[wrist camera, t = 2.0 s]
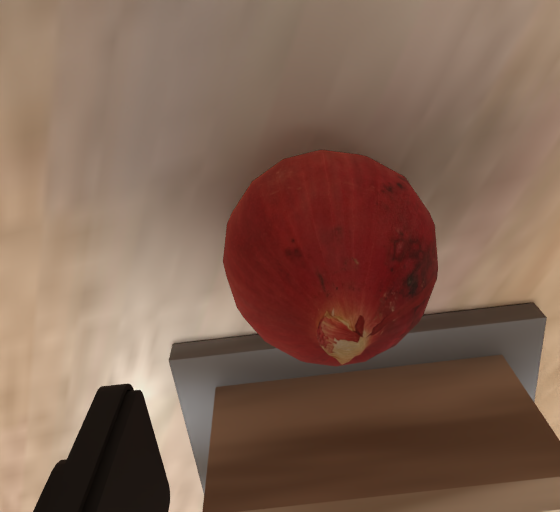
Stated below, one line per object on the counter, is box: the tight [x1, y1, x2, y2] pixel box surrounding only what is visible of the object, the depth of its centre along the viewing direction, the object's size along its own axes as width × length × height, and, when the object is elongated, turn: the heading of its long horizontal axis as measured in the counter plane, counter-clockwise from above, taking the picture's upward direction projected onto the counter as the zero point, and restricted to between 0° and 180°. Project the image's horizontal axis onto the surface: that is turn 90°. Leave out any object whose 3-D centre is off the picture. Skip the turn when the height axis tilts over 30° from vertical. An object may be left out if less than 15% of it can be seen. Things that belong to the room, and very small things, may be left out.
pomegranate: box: [223, 150, 438, 366], centre depth 14 cm, size 6×6×8 cm
